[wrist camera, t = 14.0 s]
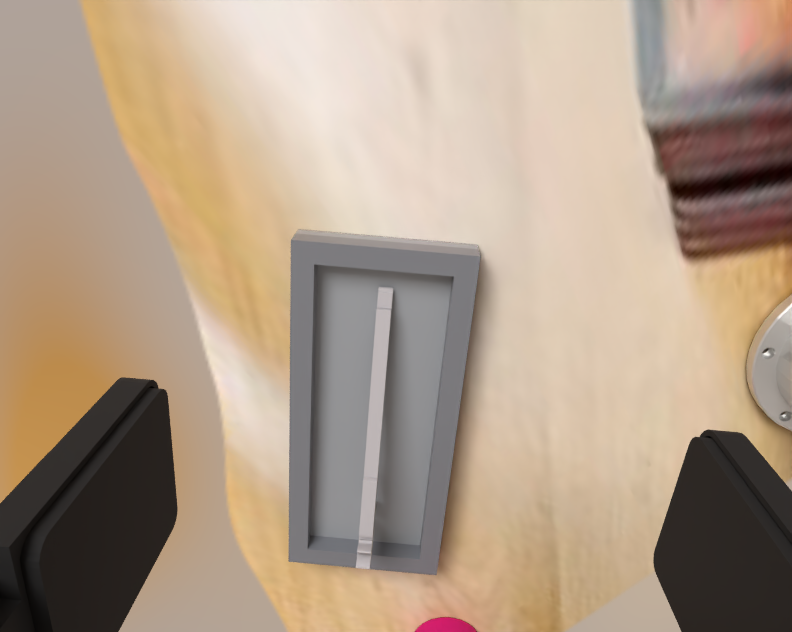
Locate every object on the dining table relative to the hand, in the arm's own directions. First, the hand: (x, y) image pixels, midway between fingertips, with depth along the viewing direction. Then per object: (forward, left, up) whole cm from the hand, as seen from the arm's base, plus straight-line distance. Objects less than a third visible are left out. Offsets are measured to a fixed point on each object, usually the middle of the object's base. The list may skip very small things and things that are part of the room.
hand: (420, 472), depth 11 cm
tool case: (+2, +18, -30) cm, 35 cm away
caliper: (+2, +18, -30) cm, 35 cm away
